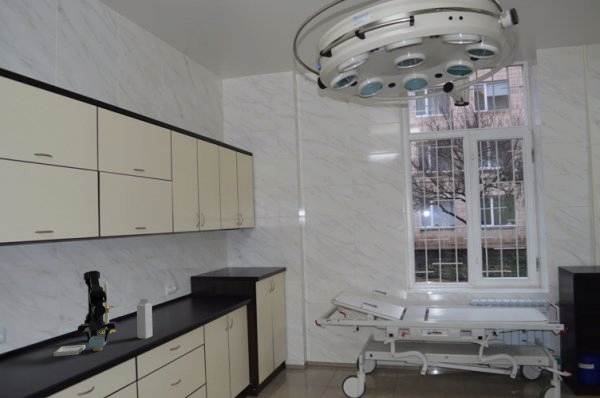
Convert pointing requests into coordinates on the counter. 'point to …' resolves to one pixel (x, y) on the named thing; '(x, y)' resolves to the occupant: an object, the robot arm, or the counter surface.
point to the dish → (69, 350)
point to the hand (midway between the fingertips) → (98, 342)
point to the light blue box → (97, 341)
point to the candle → (107, 308)
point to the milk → (144, 319)
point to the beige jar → (98, 346)
